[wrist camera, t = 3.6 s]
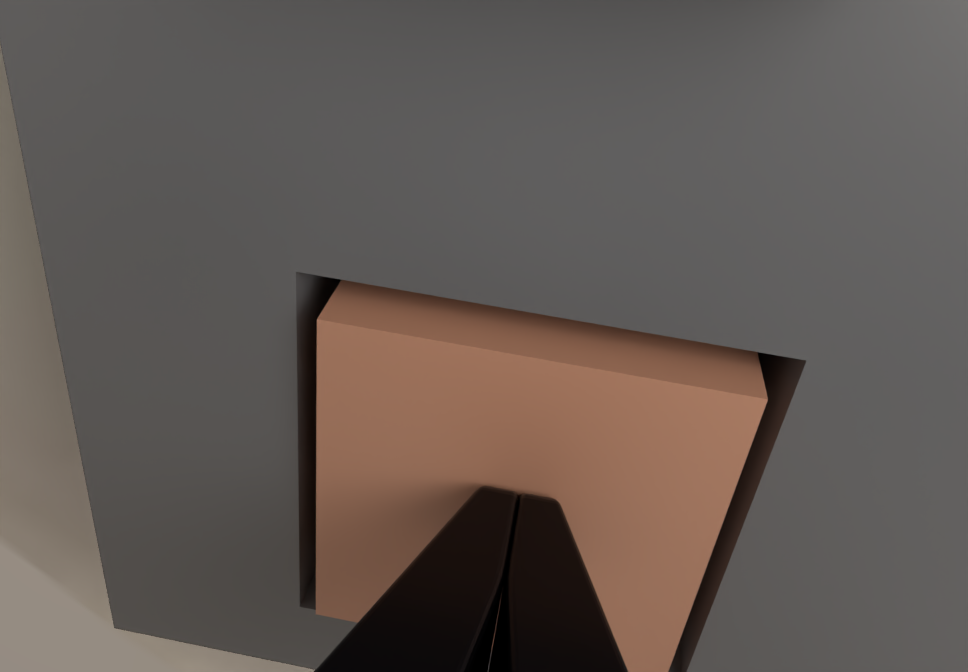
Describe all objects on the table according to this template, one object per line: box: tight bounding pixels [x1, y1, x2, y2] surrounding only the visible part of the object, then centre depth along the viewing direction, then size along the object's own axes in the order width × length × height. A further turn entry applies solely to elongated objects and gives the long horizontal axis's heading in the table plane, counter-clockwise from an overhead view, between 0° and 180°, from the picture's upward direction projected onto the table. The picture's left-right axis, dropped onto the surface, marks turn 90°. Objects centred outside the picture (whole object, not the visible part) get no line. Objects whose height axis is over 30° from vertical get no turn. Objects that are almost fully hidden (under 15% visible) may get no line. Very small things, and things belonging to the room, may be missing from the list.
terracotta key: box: [316, 280, 768, 672], centre depth 10 cm, size 4×4×2 cm
